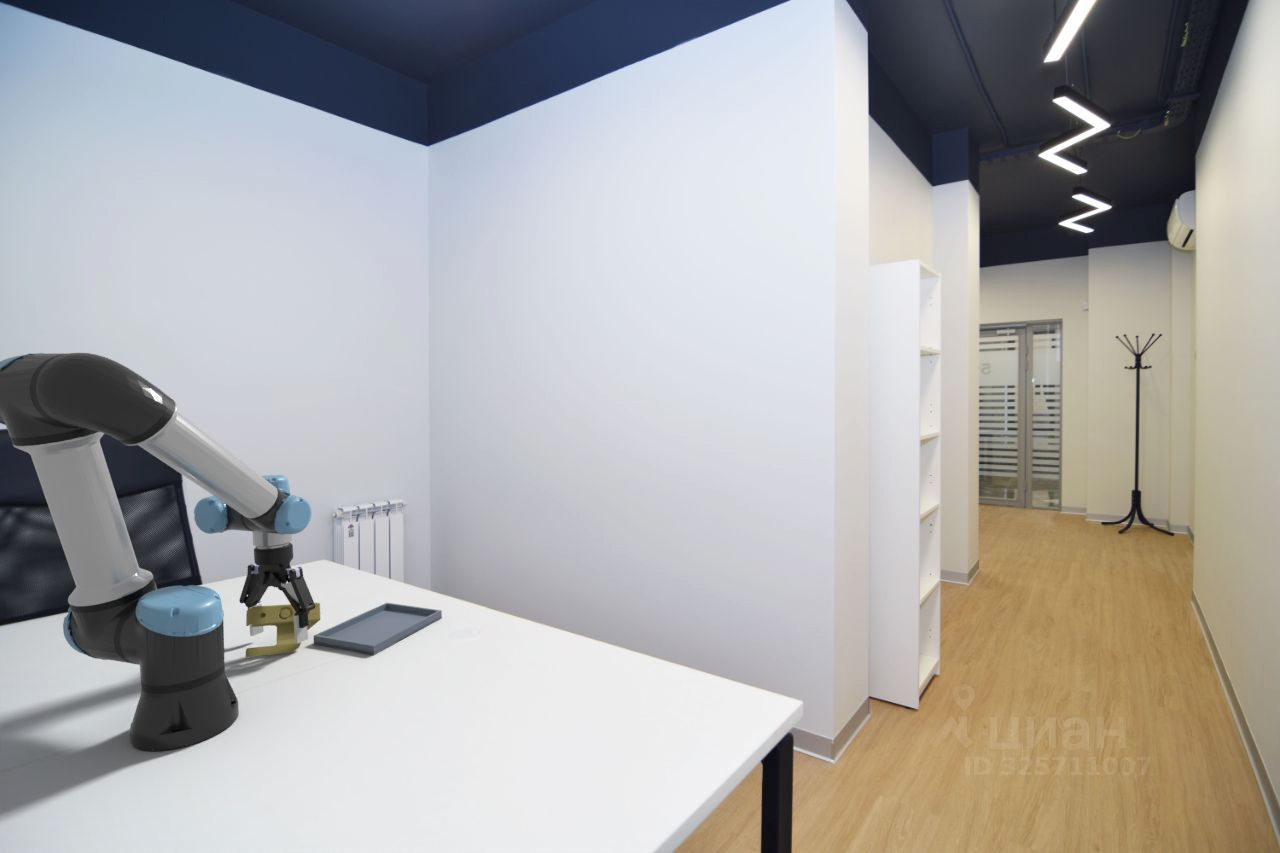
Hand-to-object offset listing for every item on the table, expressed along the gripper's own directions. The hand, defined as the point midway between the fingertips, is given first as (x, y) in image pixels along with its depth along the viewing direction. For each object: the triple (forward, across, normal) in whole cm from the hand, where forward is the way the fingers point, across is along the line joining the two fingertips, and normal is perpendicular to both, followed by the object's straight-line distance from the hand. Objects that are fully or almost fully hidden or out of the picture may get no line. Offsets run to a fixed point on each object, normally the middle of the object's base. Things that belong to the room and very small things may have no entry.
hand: (278, 637), depth 142 cm
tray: (+2, -15, -15) cm, 21 cm away
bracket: (0, +1, 0) cm, 1 cm away
